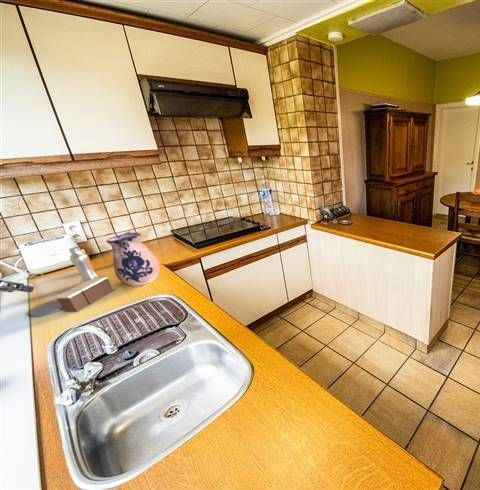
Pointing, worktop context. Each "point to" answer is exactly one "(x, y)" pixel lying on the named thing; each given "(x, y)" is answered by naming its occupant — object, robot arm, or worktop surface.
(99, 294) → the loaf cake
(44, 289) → the worktop surface
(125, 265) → the ceramic pitcher
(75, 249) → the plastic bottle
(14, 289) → the robot arm
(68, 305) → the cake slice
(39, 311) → the plate
